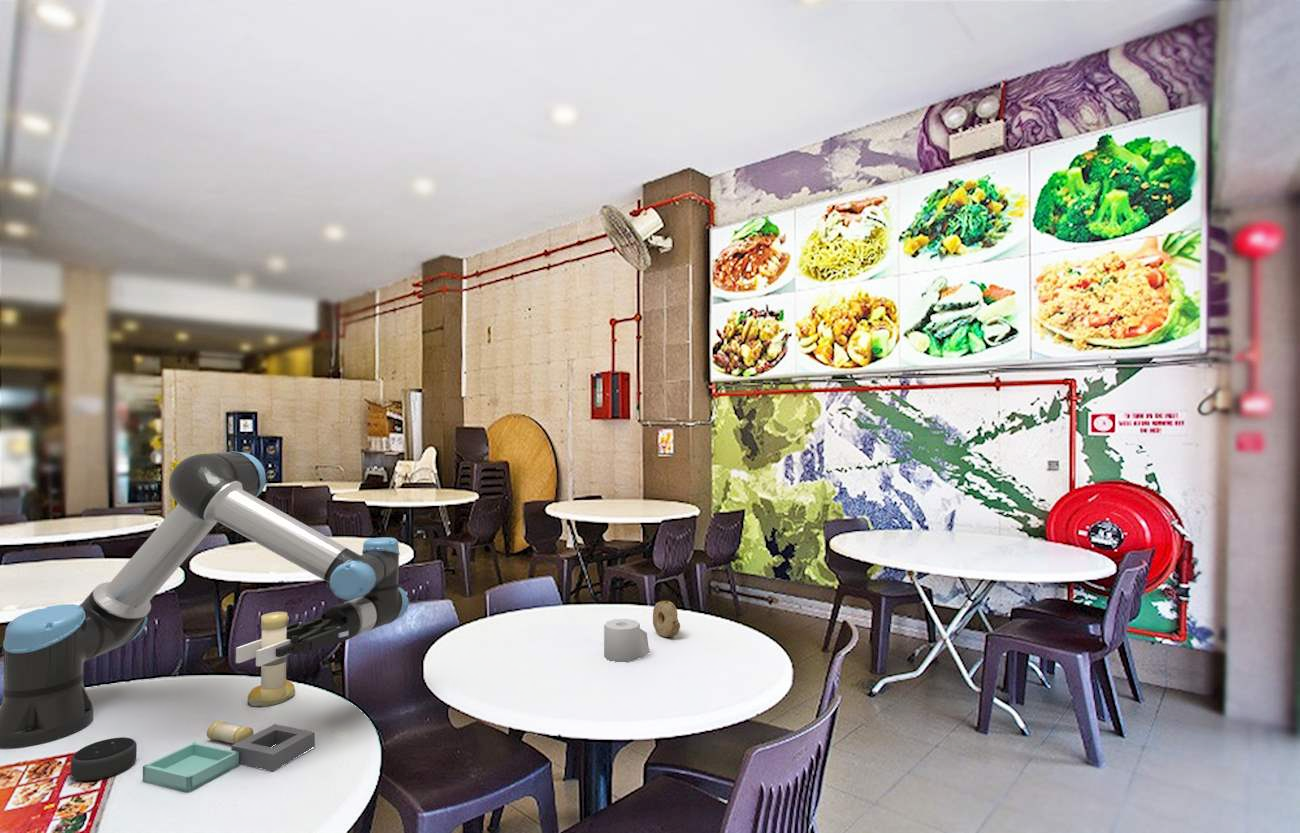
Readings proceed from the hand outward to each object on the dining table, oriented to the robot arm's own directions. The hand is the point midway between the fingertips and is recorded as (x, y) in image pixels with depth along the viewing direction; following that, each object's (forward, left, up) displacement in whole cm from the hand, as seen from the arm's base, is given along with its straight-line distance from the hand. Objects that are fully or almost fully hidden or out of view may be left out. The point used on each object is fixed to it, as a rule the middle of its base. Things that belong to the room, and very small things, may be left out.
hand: (247, 656), depth 115 cm
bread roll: (-22, +24, -20) cm, 39 cm away
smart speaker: (-24, -8, -20) cm, 32 cm away
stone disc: (+48, +95, -20) cm, 108 cm away
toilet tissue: (+43, +76, -20) cm, 90 cm away
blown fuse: (0, +5, -9) cm, 10 cm away
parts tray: (-8, -4, -20) cm, 22 cm away
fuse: (-12, +7, -20) cm, 24 cm away
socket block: (0, +6, -20) cm, 21 cm away
